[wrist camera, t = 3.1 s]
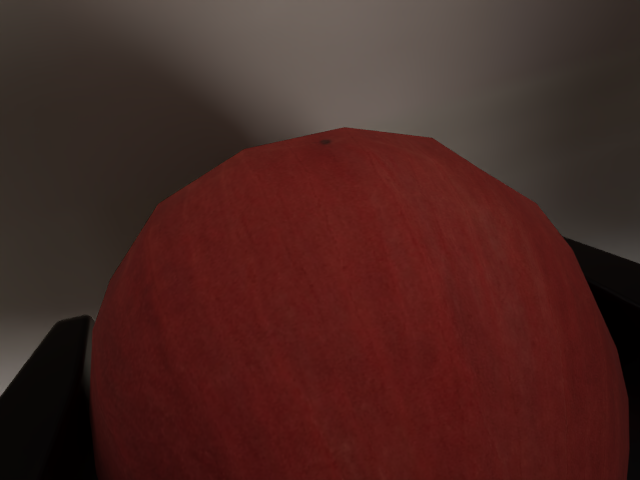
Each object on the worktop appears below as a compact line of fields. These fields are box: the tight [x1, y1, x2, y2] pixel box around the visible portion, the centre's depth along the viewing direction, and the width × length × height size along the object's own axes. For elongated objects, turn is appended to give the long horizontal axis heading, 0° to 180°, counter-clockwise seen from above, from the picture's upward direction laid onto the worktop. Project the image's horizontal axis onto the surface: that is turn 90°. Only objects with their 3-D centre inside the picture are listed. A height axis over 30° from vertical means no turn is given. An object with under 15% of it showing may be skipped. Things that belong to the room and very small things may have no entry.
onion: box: [89, 127, 629, 480], centre depth 7 cm, size 6×6×8 cm
